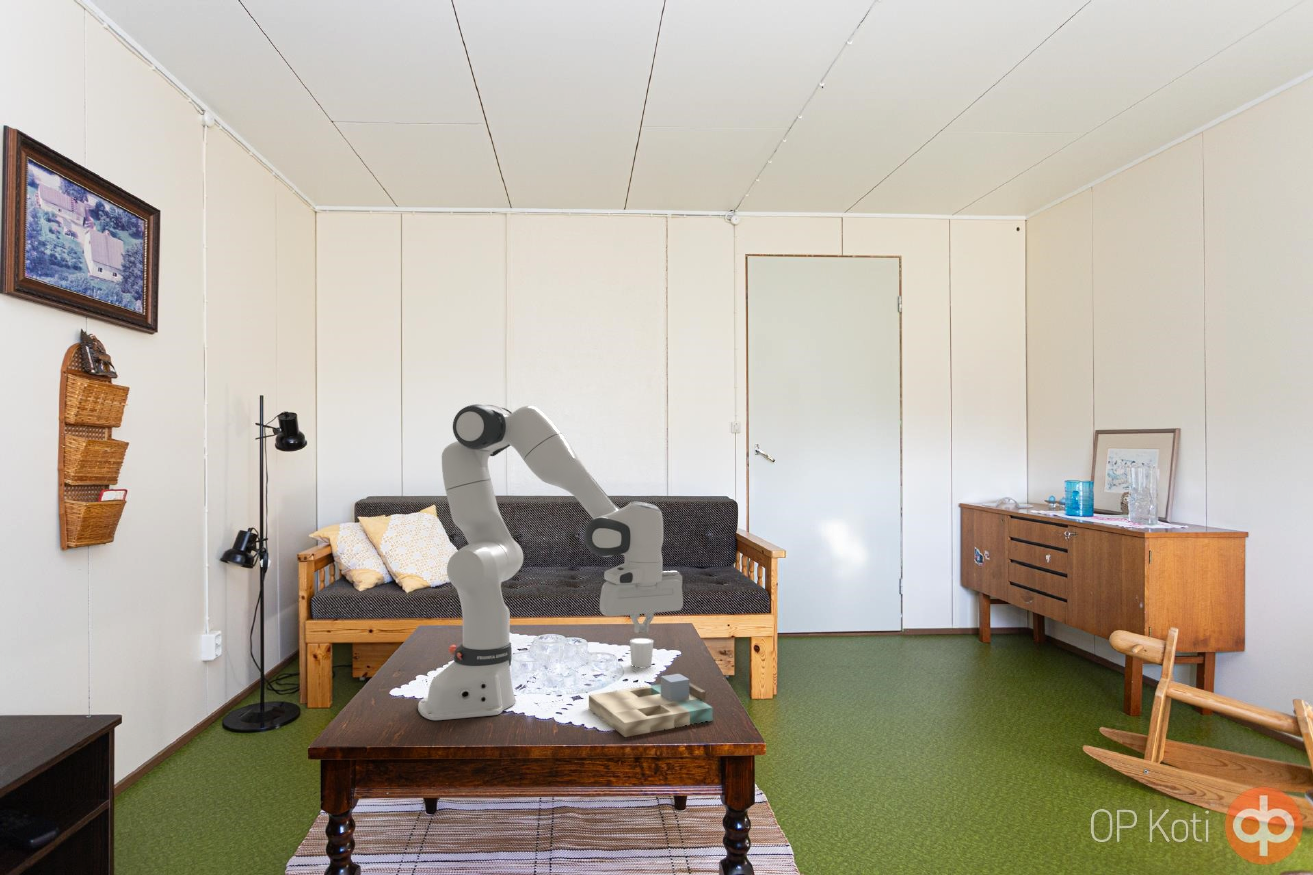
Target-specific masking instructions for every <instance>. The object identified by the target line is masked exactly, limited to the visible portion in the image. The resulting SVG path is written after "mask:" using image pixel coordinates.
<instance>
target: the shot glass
mask: <svg viewBox="0 0 1313 875" xmlns="http://www.w3.org/2000/svg"><path fill="white" fill-rule="evenodd" d="M654 642H655V640H654V639H651V638H648V637H647V638H646V637H638V638H637V637H635V638H632V639H630V640H629V647H630V648H629V649H630V650H629V651H630V662H631V666H632V665H633V666H636V667H648V666H650V665H651V666H652V660H653V650H654ZM633 666H632V667H633ZM651 666H650V667H651ZM648 668H649V667H648Z"/></svg>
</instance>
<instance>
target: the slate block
mask: <svg viewBox="0 0 1313 875" xmlns="http://www.w3.org/2000/svg"><path fill="white" fill-rule="evenodd" d="M689 682H690V679H689V678H688V677H686V676H685V675H682V674H680V673H674V674H669V675H668V674H666V675H662V676H660V684H661V696H662V697H664V698H666V699H667V700H669V701H670V702H672V701H678V700H684V699H689ZM690 683H691V682H690Z"/></svg>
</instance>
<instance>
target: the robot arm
mask: <svg viewBox="0 0 1313 875" xmlns="http://www.w3.org/2000/svg"><path fill="white" fill-rule="evenodd" d="M452 431H453V435H454V438H455V439H456V441H454V442H452V443H450V444H449V445H447V446H446V447H445V448H444V449H443V451H442V453H441V470H442V478H443V485H444V489H445V494H446V499H447V502H448V506H449V511H450V515H451V519H452V521H453V524H454V525H455V526H456V527H457V528H458V529H460V531H461V532H462V534H463V535H464V538H465V539H466V541H467V544H466V545H464V546H462V547H461V548H460V549H458V550H457V551H456V552H455V553H453V554H452V555H451V557H450V558H449V559H448V562H447V565H446V566H447V567H446V575H447V578H448V580H449V582H450V583H451V584H452V586H453V587H454V588H455V590H456V591H457V595H458V599H459V601H460V606H461V614H462V616H461V617H462V643H461V644H460V645H459V646H458V647H457V646H456V645H455V644H451V645H449V647H448V652H449V653H450V654H451V655H452V656H453V662H451V663H450V664H449V665H448V666H447V667H445V669H443V670H442V671H441V672H440V673H438V674H437V675H436V676H434V677H433V679H432V680H431V682H430V685H429V688H428V692H427V694H428V695H427V697H424V698H422V699H420V700H419V702H418V705H417V710H418V712H419V714H420V715H421V716H422V717H424V718H425V719H427V720H431V721H442V720H444V721H445V720H453V719H456V720H457V719H466V718H476V717H477V718H479V717H486V716H496V715H499V714H501V713H503V711H504V710H506V709H508V708H510V707H512V706H513V705H514V704H515V703H516V697H515V693H514V690H513V684H512V675H511V665H512V657H513V656H512V655H513V652H512V643H511V641H510V636H511V635H510V634H511V633H510V628H511V627H510V621H511V620H510V619H511V618H510V617H511V614H510V609H509V607H508V606H507V605H506V604H505V603H506V602H505V601H504V596H503V593H502V583H503V582H506V581H508V580H510V579H512V578H513V576H515V575H516V574H517V573H518V572H519V570H520V569H521V567H522V566H523V563H524V553H523V549H522V547H521V546H520V545H519V543H518V542H516V540H515V539H514V538H513V536H512V535H511V533H510V532H509V529H508V527H507V525H506V523H505V521H504V519H503V517H502V515H501V512H500V509H499V506H498V502H497V498H496V494H495V490H494V486H493V482H492V478H491V474H490V471H489V466H488V465H489V464H488V461H489V458H490V457H495V456H496V455H498V454H500V453H501V452H503V451H504V450H507V449H509V447H510V446H511V447H512V448H513V449H515V451H516V452H517V453H518V454H519V456H520V457H521V458H522V460H523V462H524V463H525V464H526V466H527V467H528V468H529V469H530V471H531V472H532V474H534V475H535V476H536V477H537V478H538V479H540V480H541V481H542V482H543V483H545V484H548V485H552V486H555V487H558V488H561V489H563V490H564V491H567V492H568V493H570V494H571V495H573V497H575V499H576V500H577V501H578V502H579V503H580V504H581V506H582V507H583V508H584V509H585V511H586V512H587V513H588V514H589V516H590V517H591V518H592V520H591V521H589V523H588V524H587V526H586V528H585V530H584V535H583V537H584V543H585V545H586V548H587V549H588V550H589V551H590V552H591V553H592V554H594V555H595V556H598V557H603V558H607V557H613V556H619V555H623V557H624V563H622V564H621V563H620V564H619V565H616V566H614V567H612V568H609V569H607V570H606V571H604V572H603V573H604V575H603V576H604V577H603V578H604V580H606V581H605V582H604V583H603V585H602V586H601V590H600V597H599V611H600V612H601V614H602V615H604V616H606V617H620V616H629V617H630V618H629V619H631V622H632V623H633V625H634V626H633V628H634V629H633V631H634V633H635V634H644V633H649V630H650V625H651V623H652V621H653V620H654V617H655V615H654V614H655V613H665V612H666V613H667V612H676V611H681V610H682V608H683V606H684V597H683V596H684V595H683V588H682V587H683V575H682V574H681V573H680V572H678V570H670V571H669V570H667V571H666V570H665V571H664V570H663V563H664V562H663V559H664V558H663V555H662V546H663V543H664V518H663V513H662V511H661V509H660V508H659V507H658V506H657V505H655V504H652V503H648V502H644V501H631V502H629V503H628V504H627V505H626V506H624V507H621V508H620V507H619V506H617V505H616V504H615V503H614V502H613V501H612V499H611V498H610V497H609V496H608V494H606V492H605V491H604V490H603V489H602V488H603V487H601V486H600V485H599V484H598V482H597V481H596V479H594V477H593V476H592V475H591V474H590V472H588V470H587V469H586V467H585V465H584V464H583V463H582V461H581V460H580V459H579V457H578V455H577V454H576V452H575V451H574V450H573V447H572V446H571V445H570V443H569V442H568V440H567V439H566V438H565V436H564V435H563V434H562V432H561V430H560V429H558V427H557V426H556V425H555V424H554V423H553V422H552V420H551V419H550V418H549V417H548V416H547V415H546V414H545V413H544V412H543V411H542V410H540V409H539V408H538V407H536V406H534V405H525V406H522V407H519V408H517V409H516V410H514V411H513V412H512V411H510V410H509V409H508V408H506V407H499V406H497V405H494V404H479V403H478V404H471V405H470V404H469V405H468V406H465V407H463V408H461V409H460V410H459V411H458V412H457V413H456V415H454V419H453V421H452ZM641 614H642V615H643V614H644V617H645V618H644V620H643V623H640V622H639V619H640V615H641Z"/></svg>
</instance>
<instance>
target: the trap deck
mask: <svg viewBox="0 0 1313 875" xmlns="http://www.w3.org/2000/svg"><path fill="white" fill-rule="evenodd" d="M706 693H707V692H706V690H704V689H702V688H701V687H698V686H697V685H695V684H693V683H691V682H689V699H684V700H678V701H672V702H670V701H669V700H667V699H666V698H664V697H662V696H661V683H659V684H653V685H646V686H645V685H644V686H640V687H632V688H627V689H620V690H613V691H608V692H601V693H594V694H590V695H588V709H589V708H590V710H591V711H592V710H593V711H594V712H595V713H594V712H593V711H592V712H593V713H594V714H595V715H597V714H598V715H599V716H600V717H599V716H598V715H597V716H598V717H599V718H601V719H602V720H603V719H604V720H605V723H607V724H608V723H609V724H608V725H609V726H610V727H612V728H613V729H614V730H616V731H617V732H618V733H620V734H621V735H622V736H623V737H625V738H628V737H633V736H638V735H644V734H648V733H655V732H659V731H664V729H665V730H670V729H675V727H676V728H681V727H685V725H687V726H691V725H690V724H692V725H695V724H694V723H697V724H702V723H701V722H703V723H706V722H705V721H708V722H712V721H713V720H714V719H713V712H714V711H713V710H714V708H713V706H711V705H709V704H708V703H707V700H706V699H707V698H706V695H707V694H706ZM604 720H603V721H604Z"/></svg>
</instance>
